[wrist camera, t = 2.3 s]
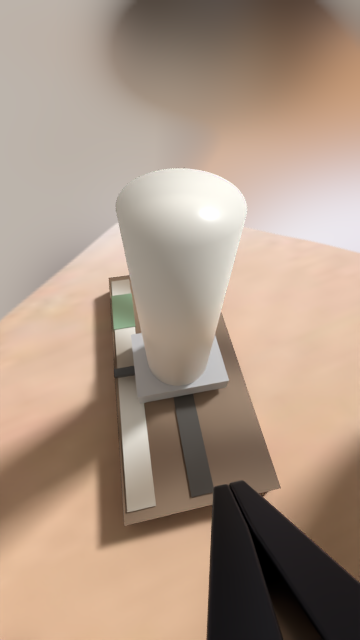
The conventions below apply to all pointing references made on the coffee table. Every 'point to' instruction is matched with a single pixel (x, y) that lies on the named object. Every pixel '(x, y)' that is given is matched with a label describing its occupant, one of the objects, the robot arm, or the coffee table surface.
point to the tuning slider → (179, 276)
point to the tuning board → (182, 431)
